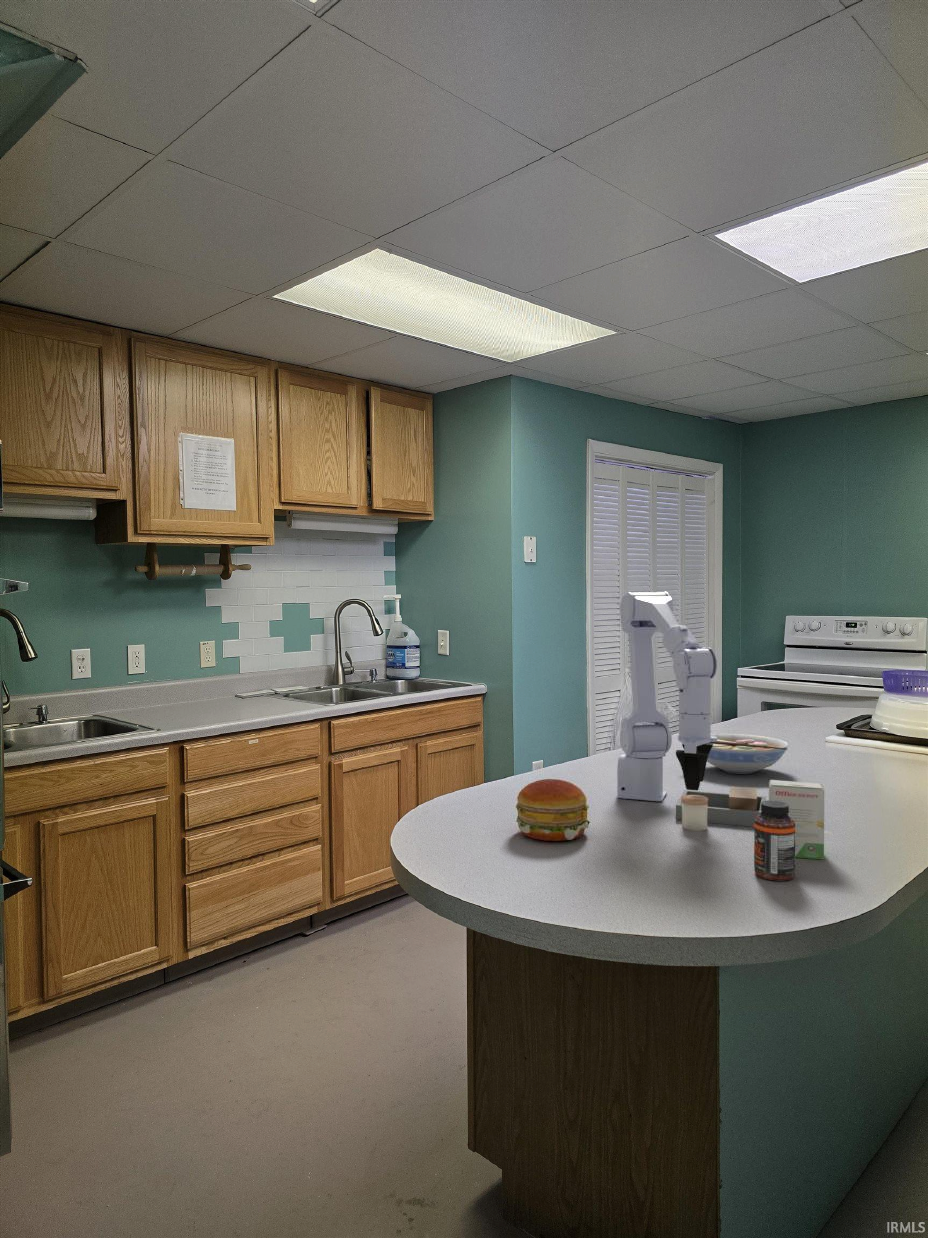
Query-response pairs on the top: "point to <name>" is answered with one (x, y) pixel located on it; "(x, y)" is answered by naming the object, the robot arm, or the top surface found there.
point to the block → (743, 798)
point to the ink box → (803, 814)
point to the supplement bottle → (774, 842)
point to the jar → (694, 812)
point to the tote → (723, 809)
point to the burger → (552, 810)
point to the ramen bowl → (745, 752)
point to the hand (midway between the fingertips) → (694, 785)
